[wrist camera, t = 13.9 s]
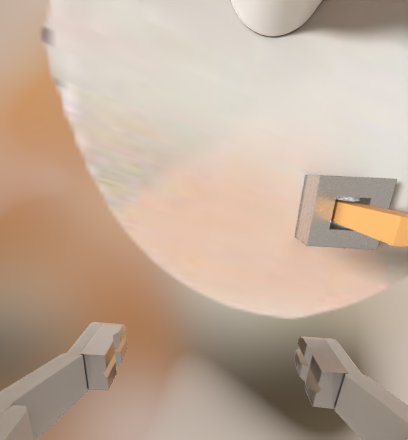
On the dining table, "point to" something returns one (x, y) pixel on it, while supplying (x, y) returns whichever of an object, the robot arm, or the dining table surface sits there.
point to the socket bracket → (324, 204)
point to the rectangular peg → (373, 221)
